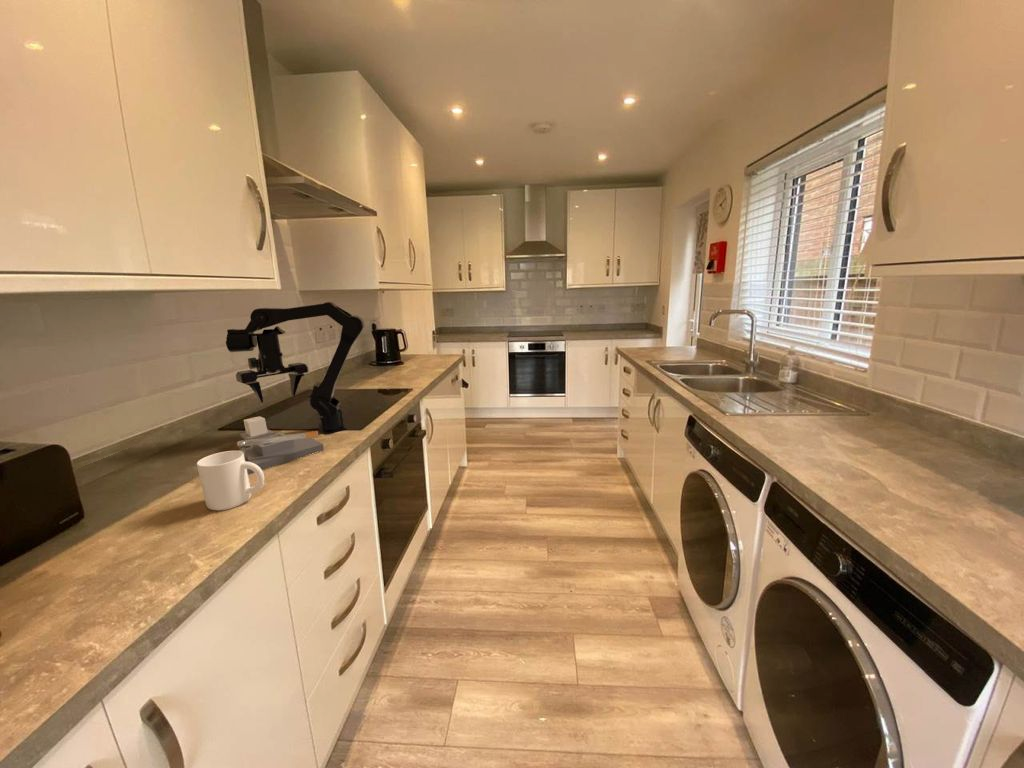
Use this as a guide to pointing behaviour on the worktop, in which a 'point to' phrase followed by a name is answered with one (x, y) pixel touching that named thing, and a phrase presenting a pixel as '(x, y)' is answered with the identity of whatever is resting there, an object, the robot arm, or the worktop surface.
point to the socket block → (279, 451)
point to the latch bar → (277, 439)
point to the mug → (227, 479)
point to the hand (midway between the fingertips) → (278, 399)
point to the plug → (255, 429)
